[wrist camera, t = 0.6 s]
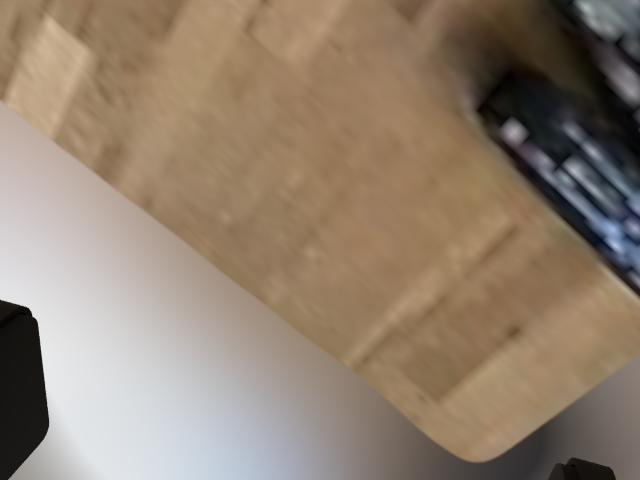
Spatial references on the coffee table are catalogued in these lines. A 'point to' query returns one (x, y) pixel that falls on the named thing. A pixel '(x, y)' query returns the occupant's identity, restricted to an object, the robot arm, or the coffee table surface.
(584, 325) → the coffee table surface
